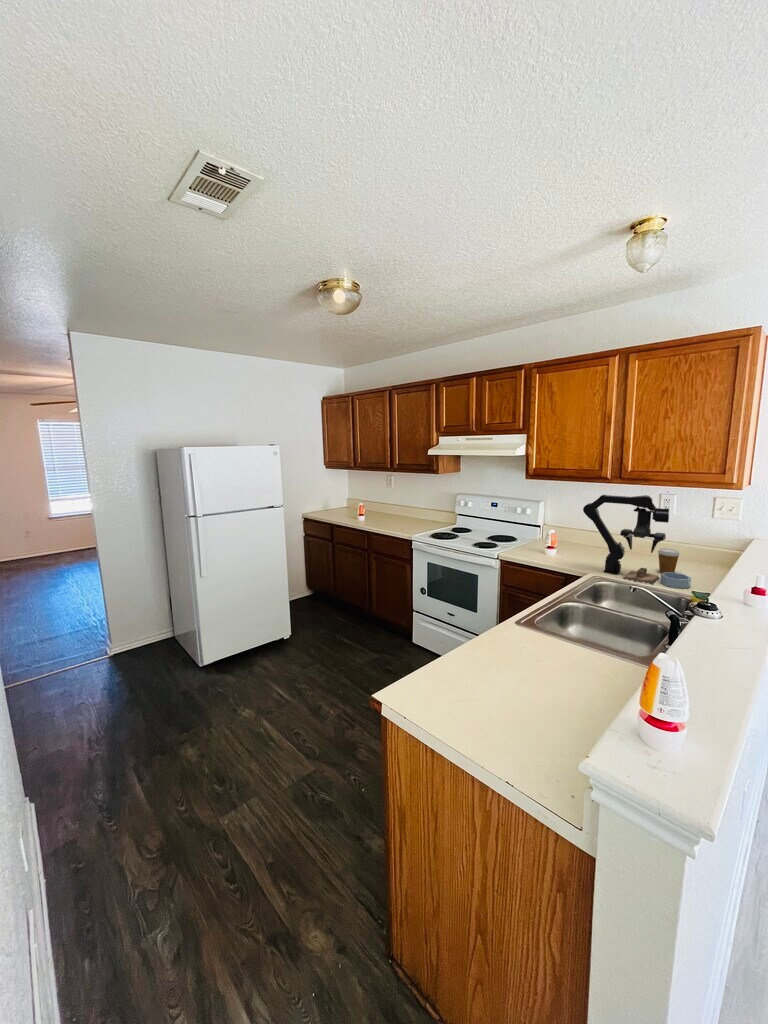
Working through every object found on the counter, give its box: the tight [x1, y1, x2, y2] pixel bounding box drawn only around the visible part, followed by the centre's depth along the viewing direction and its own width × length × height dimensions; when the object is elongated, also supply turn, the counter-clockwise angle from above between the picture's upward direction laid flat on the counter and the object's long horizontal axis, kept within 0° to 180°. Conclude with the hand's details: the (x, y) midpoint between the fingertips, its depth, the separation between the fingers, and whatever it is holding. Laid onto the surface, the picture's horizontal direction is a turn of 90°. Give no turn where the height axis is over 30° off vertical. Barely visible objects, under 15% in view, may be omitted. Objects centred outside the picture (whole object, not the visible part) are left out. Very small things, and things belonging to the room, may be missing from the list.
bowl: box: [659, 572, 692, 589], centre depth 198 cm, size 11×11×4 cm
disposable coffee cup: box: [657, 548, 681, 574], centre depth 216 cm, size 10×10×12 cm
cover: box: [624, 567, 659, 583], centre depth 208 cm, size 12×12×4 cm
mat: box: [622, 576, 661, 585], centre depth 208 cm, size 13×13×1 cm
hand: (641, 551), depth 210 cm, fingers open, 9 cm apart
